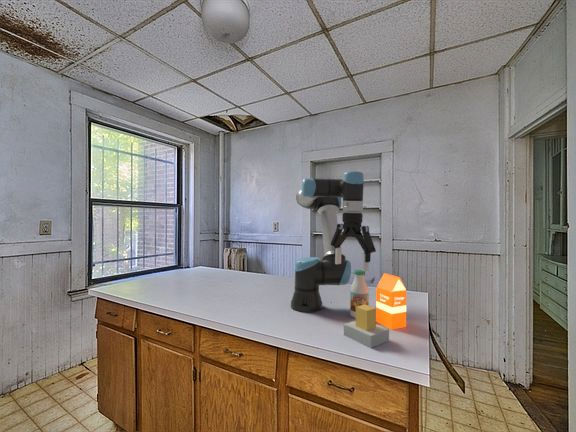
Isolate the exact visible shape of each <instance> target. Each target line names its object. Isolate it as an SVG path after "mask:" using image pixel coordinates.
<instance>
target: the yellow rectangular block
mask: <svg viewBox="0 0 576 432" xmlns="http://www.w3.org/2000/svg"><path fill="white" fill-rule="evenodd" d="M355 321H356V327H359V328H361V329H363V330H365V331H368V330H371V329H374V328H376V324H377V322H376V307H374V306H371V305H369V306H368V305H361V306H357V307H356V318H355Z"/></svg>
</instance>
